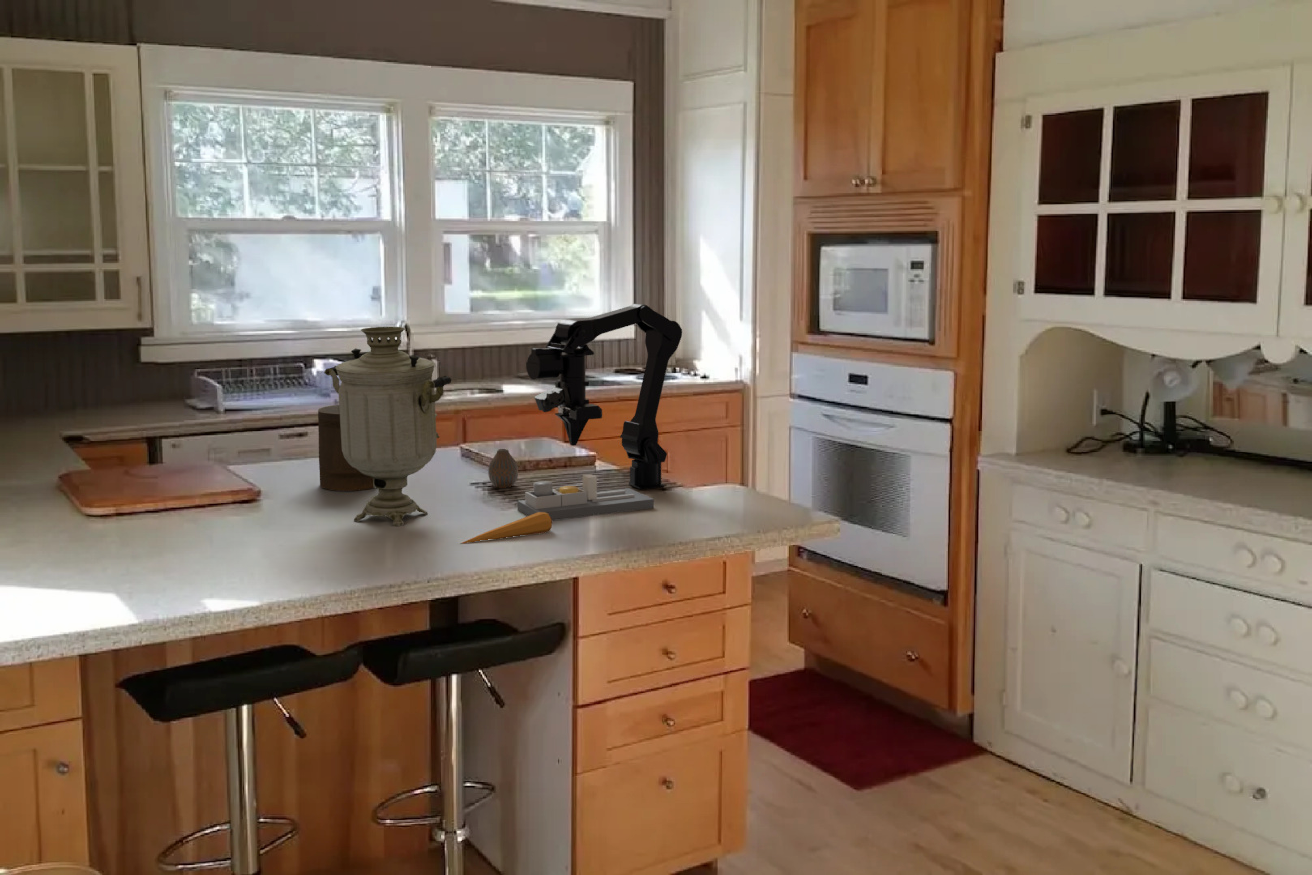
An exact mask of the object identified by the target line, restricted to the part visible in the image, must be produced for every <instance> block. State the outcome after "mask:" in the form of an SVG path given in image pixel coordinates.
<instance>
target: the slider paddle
mask: <svg viewBox="0 0 1312 875" xmlns="http://www.w3.org/2000/svg"><path fill="white" fill-rule="evenodd" d="M582 490H584V491H586V492H587V500H592V499H594V498H597V492H598V477H597V476H595V475H594V474H591V473H590V474H583V475H582Z"/></svg>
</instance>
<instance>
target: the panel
mask: <svg viewBox="0 0 1312 875" xmlns="http://www.w3.org/2000/svg"><path fill="white" fill-rule="evenodd" d="M524 494H525V495H524V496H525V499H521V500H517V511H519V512H521V513H522V514H524V515H526V516H530V515H532V514H535V513H537V512H546V513H548V514H549V516H550V517H551V519H552V521H558V520H565V519H566V520H567V519H574V518H582V517H583V518H584V517H588V516H589V517H590V516H599V515H600V516H601V515H608V514H609V515H610V514H616V513H622V512H623V513H624V512H631V511H640V510H641V511H642V510H647V509H648V510H650V509H654V506H655V503H654V502H655V501H654V500H655V499H654V498H652V497H650V496H648V495H646V494H643V493H641V492H639V491H637V490H634V489H632V488H629V487H626V488H619V489H612V490H609V489H607V490H600V491H597V498H594V499H592V500H587V492H586V491H584V490H583V488H582V489H581V488H579V487H578V492H577V493H568V494H562V493H560V487H557V488H552V495H550V496H541V497H536V496H534V490H532V491H525V492H524Z"/></svg>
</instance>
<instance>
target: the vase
mask: <svg viewBox="0 0 1312 875" xmlns="http://www.w3.org/2000/svg"><path fill="white" fill-rule="evenodd" d="M487 471H488V472H487V473H488V479H489V481H490V483H491V484H492V485H493V487H495V488H497V487H499V488H498V489H507V488H506V487H509V488H511V486H512V487H513V486H514V485H515V483H516V482H517V479H518V476H519V468H518V464H517V461H516V460H515V458H514V457H513V456H512V454H511V453H510V451H509V449H507V448H500V449H497V451H496V452H495V455H494V456H493V457H492V459H490V462H489V464H488V470H487Z"/></svg>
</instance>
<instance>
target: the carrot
mask: <svg viewBox="0 0 1312 875" xmlns="http://www.w3.org/2000/svg"><path fill="white" fill-rule="evenodd" d="M552 528H553V520H552V519H551V517H550V516H549V514H548V513H546V512H537V513H535V514H532V515H530V516H528V515H526V516H525V517H522V518H519V519H516V520H514V521H511V522H509V523H506V524H504V525H501V526H498V527H496V528H493V529H491V530H488V531H486V532H483V533H480V534H479V535H476V536H473V537H472V538H470V539H467V540H465V541H462V542H461V543H463V544H468V543H467V542H472V543H476V542H475V541H480V540H488V539H496V540H501V539H500V538H503V539H507V538H506V537H511V538H514V537H513V536H518V537H521V536H520V535H525V536H533V535H537V534H538V535H539V533H540V534H544V533H545V532H546V533H549V532H550V531H551V530H552ZM546 533H545V534H546ZM480 542H481V541H480Z"/></svg>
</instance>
